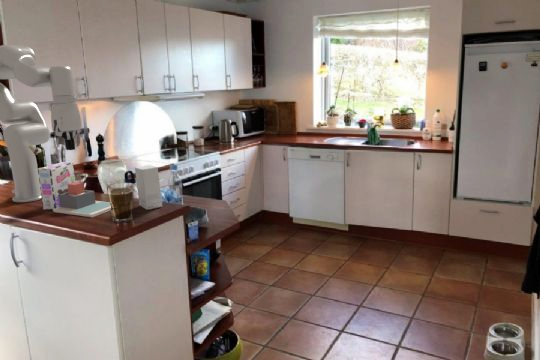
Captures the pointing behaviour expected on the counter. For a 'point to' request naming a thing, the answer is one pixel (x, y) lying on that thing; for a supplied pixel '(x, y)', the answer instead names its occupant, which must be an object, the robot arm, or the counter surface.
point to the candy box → (55, 183)
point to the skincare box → (148, 187)
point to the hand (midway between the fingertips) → (70, 149)
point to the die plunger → (76, 188)
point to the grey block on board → (82, 204)
